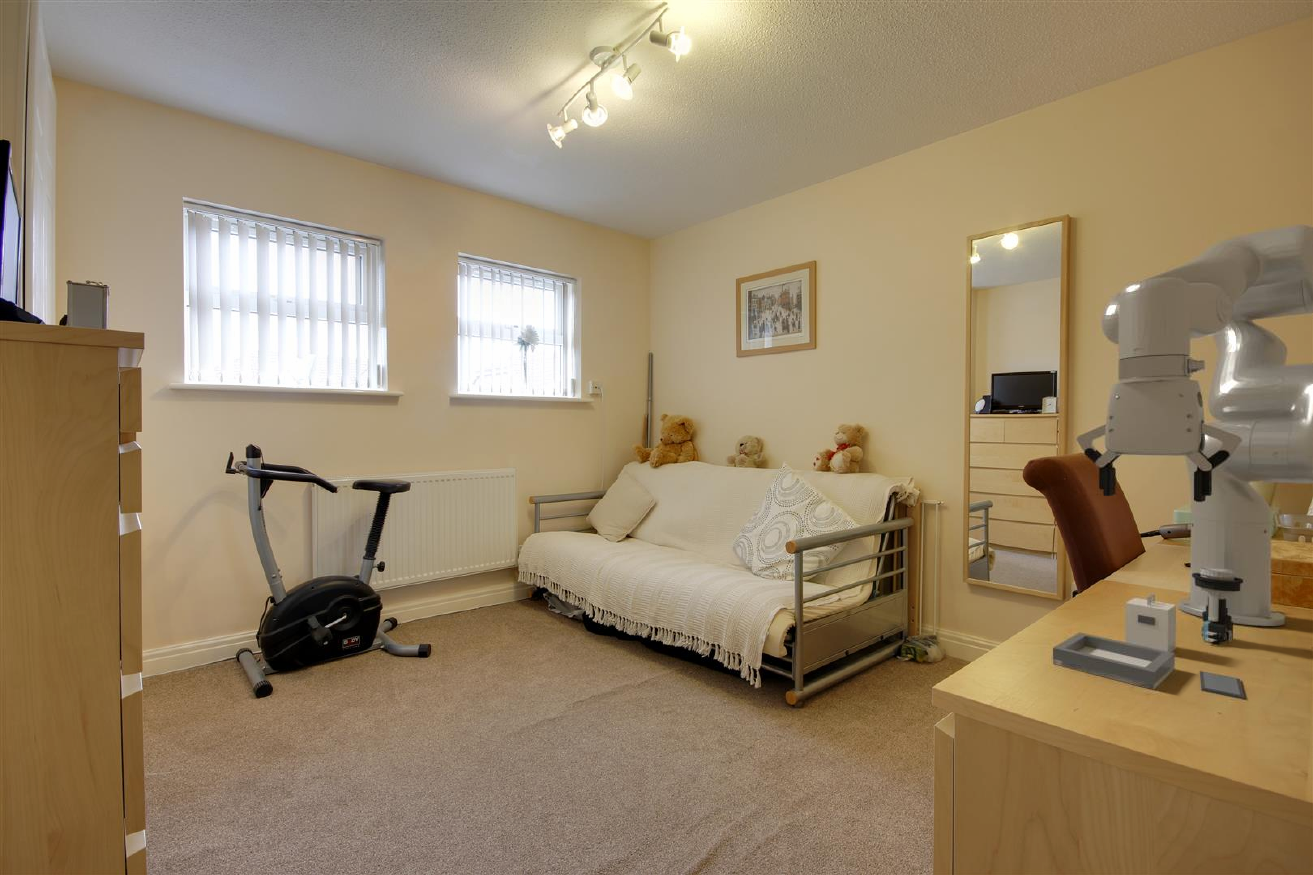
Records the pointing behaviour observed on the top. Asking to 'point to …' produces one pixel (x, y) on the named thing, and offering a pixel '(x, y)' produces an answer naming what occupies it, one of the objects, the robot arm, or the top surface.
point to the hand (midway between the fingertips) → (1152, 498)
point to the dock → (1115, 660)
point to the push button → (1217, 602)
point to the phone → (1221, 685)
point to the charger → (1151, 624)
